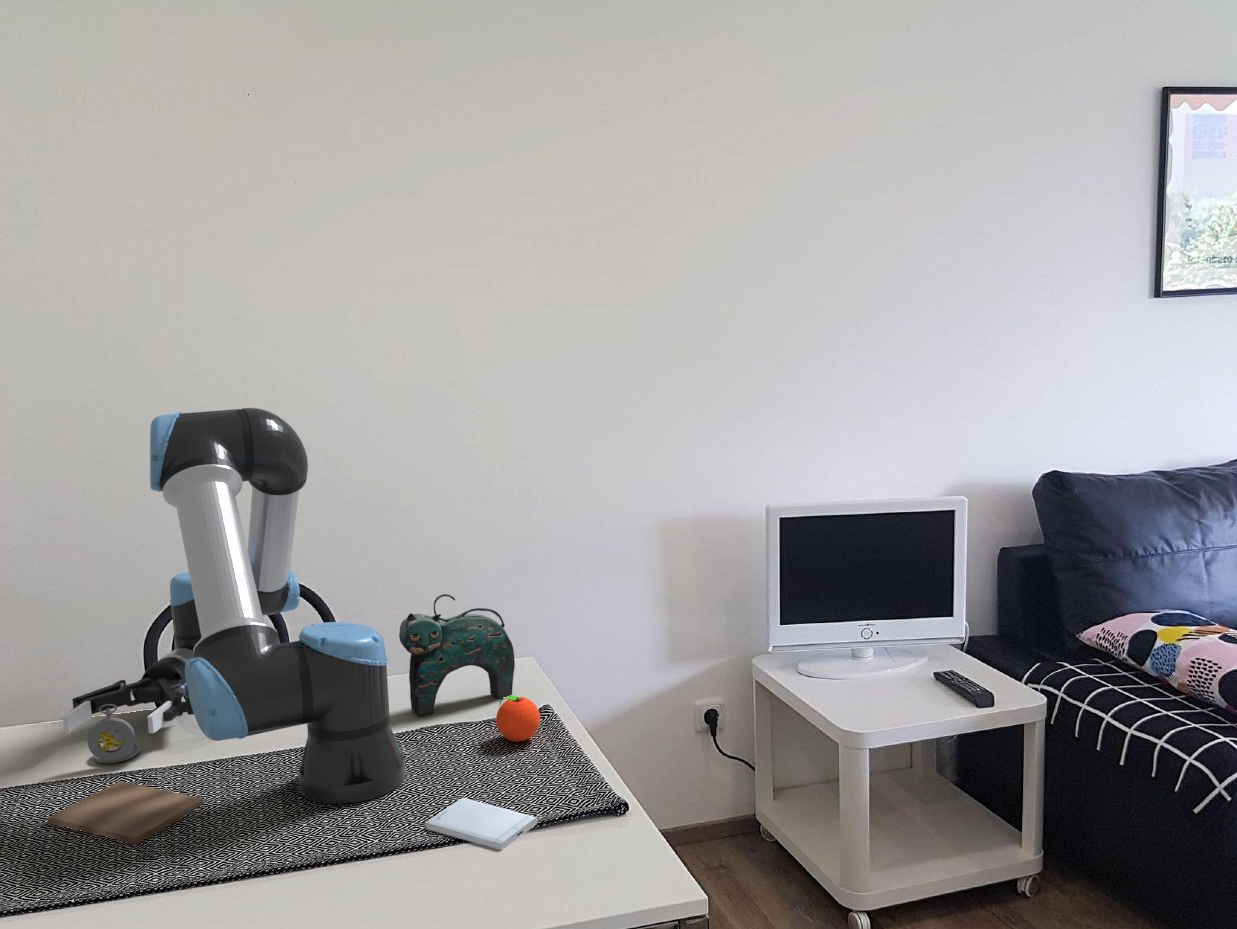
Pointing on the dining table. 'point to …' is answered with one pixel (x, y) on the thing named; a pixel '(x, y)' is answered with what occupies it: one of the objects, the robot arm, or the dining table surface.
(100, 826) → the walnut board
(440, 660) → the ceramic cat
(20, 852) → the dining table surface
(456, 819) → the hard drive
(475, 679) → the dining table surface
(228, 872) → the dining table surface
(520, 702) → the clementine
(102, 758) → the pocket watch
